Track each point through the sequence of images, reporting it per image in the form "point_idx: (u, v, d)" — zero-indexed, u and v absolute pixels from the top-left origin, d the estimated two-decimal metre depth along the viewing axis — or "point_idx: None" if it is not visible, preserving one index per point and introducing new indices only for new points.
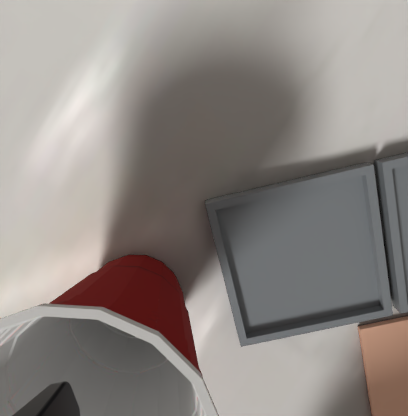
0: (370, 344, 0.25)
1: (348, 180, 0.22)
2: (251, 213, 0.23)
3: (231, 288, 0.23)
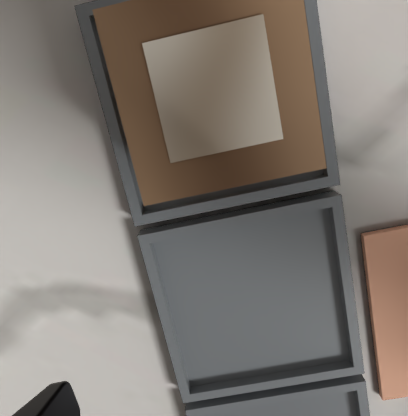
0: (405, 388, 0.20)
1: None
2: None
3: None
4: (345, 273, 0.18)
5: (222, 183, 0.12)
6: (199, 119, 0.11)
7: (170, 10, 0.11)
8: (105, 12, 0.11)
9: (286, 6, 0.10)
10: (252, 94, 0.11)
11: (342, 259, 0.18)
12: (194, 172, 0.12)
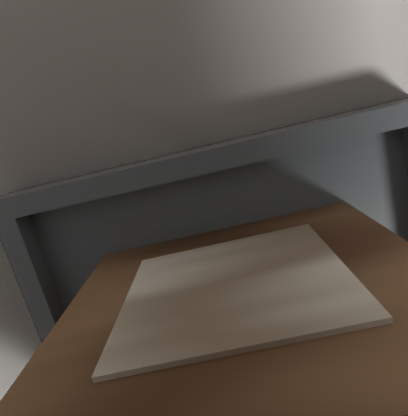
0: None
1: None
2: None
3: None
4: None
5: None
6: None
7: None
8: None
9: None
10: None
11: None
12: None
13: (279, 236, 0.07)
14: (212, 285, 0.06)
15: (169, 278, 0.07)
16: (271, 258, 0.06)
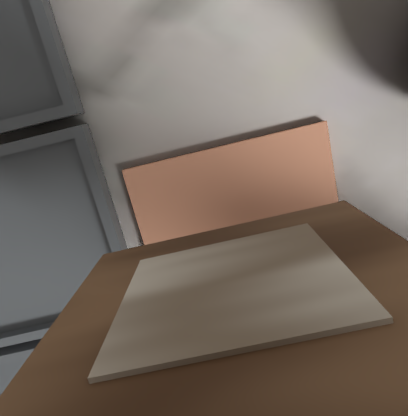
0: None
1: None
2: None
3: None
4: (102, 210, 0.18)
5: None
6: None
7: None
8: None
9: None
10: None
11: (97, 195, 0.17)
12: None
13: (278, 235, 0.07)
14: (210, 285, 0.06)
15: (167, 278, 0.07)
16: (270, 258, 0.06)
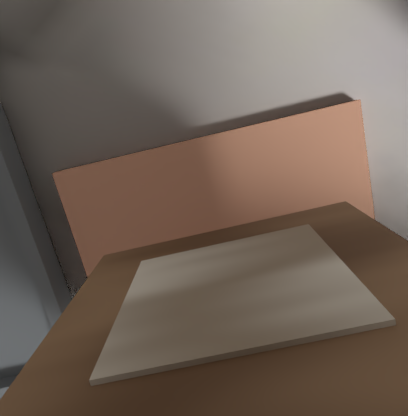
0: None
1: None
2: None
3: None
4: (21, 231, 0.12)
5: None
6: None
7: None
8: None
9: None
10: None
11: (13, 209, 0.12)
12: None
13: (280, 237, 0.07)
14: (212, 286, 0.06)
15: (168, 279, 0.07)
16: (271, 259, 0.06)
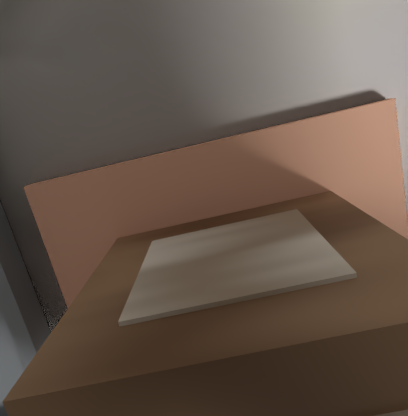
0: None
1: None
2: None
3: None
4: None
5: None
6: None
7: (189, 403, 0.04)
8: (33, 409, 0.04)
9: None
10: None
11: None
12: None
13: (272, 219, 0.08)
14: (214, 257, 0.07)
15: (177, 253, 0.08)
16: (264, 236, 0.08)
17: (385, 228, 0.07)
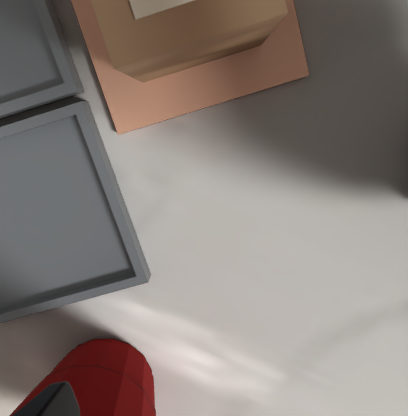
0: (137, 116, 0.19)
1: None
2: None
3: (74, 297, 0.20)
4: None
5: (188, 37, 0.12)
6: None
7: None
8: None
9: None
10: None
11: None
12: (159, 27, 0.12)
13: None
14: None
15: None
16: None
17: None
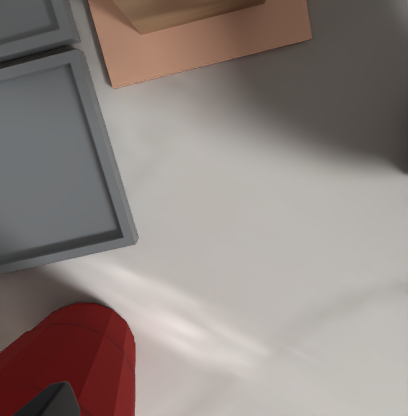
0: (134, 70, 0.18)
1: None
2: None
3: (58, 255, 0.20)
4: None
5: None
6: None
7: None
8: None
9: None
10: None
11: None
12: None
13: None
14: None
15: None
16: None
17: None
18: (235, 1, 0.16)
